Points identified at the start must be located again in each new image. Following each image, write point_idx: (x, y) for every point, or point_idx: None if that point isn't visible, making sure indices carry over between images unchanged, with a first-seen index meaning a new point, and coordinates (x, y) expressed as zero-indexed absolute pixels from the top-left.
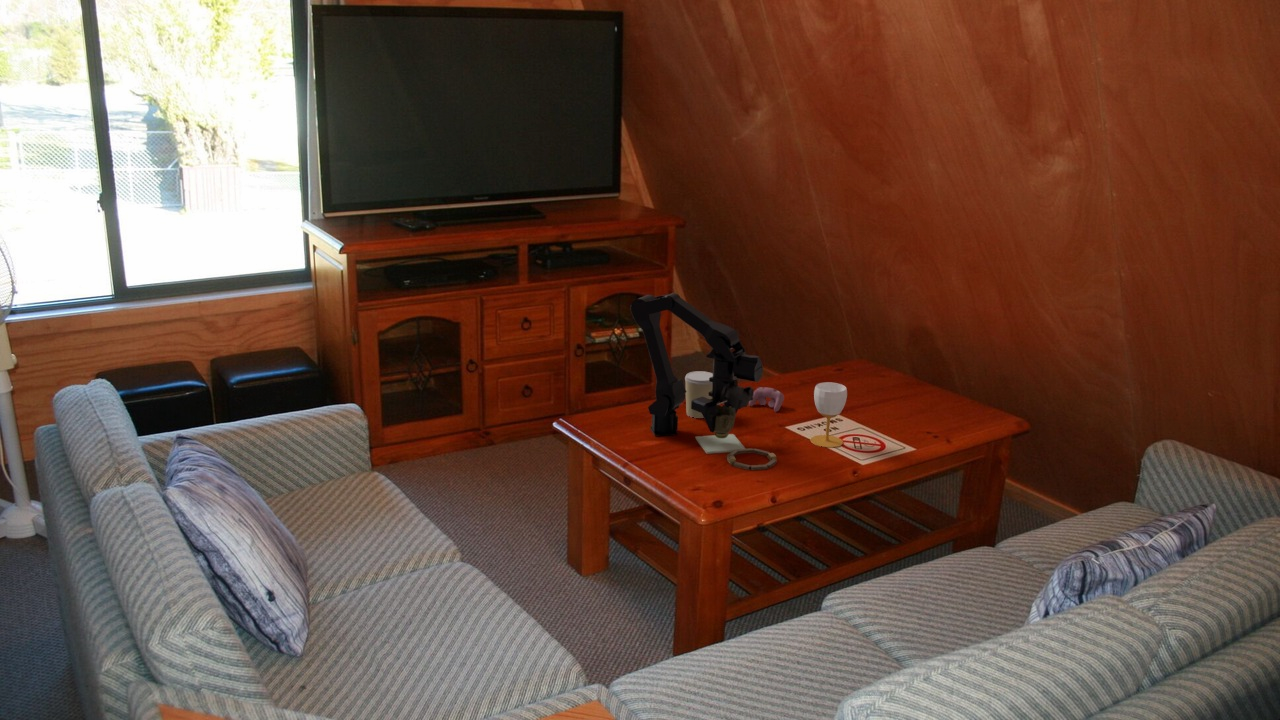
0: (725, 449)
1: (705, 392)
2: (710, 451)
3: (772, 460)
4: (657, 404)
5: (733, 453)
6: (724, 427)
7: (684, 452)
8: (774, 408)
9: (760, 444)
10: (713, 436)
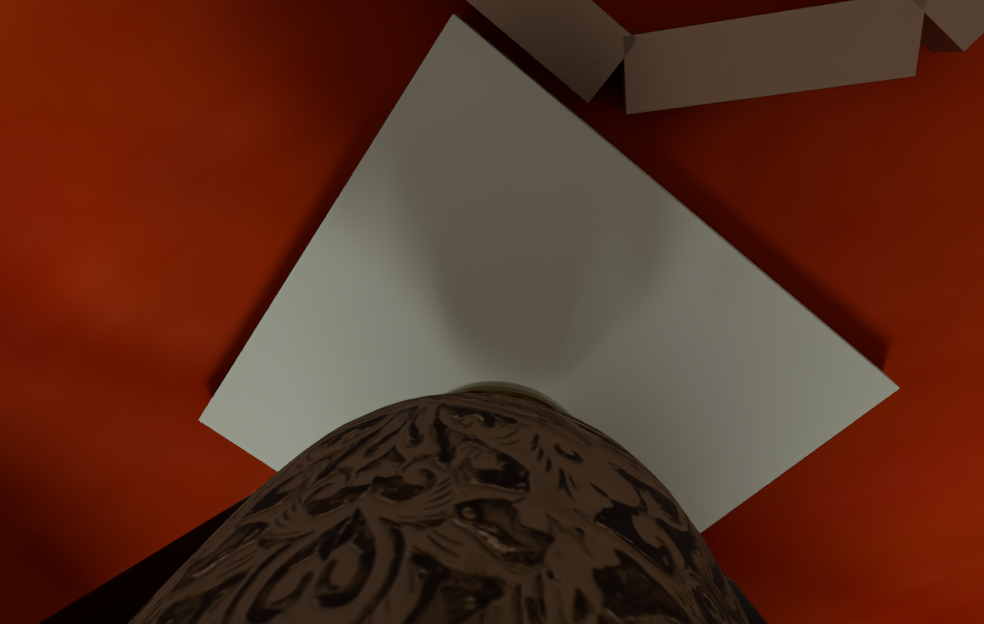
0: (672, 242)
1: None
2: (860, 356)
3: None
4: None
5: (785, 33)
6: (675, 513)
7: (973, 563)
8: None
9: (111, 3)
10: None
